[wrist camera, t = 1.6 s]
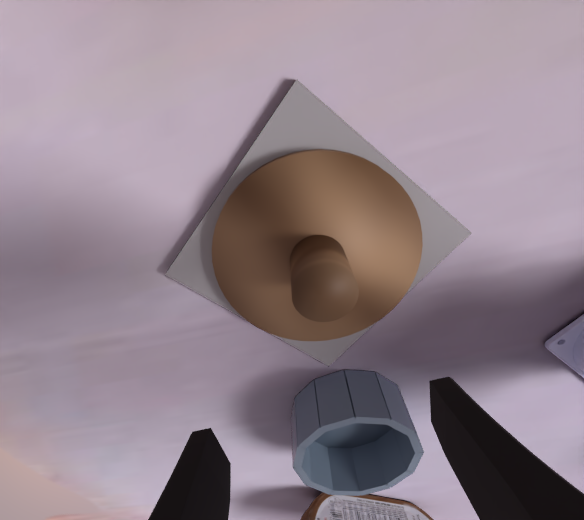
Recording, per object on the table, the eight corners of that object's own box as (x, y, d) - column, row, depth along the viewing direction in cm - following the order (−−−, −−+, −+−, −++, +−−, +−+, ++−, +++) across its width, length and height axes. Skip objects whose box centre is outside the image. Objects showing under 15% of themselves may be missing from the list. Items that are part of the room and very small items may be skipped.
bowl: (342, 352, 24) (353, 398, 20) (425, 401, 27) (448, 449, 23) (270, 420, 27) (269, 470, 23) (351, 457, 30) (361, 507, 26)
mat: (295, 79, 16) (296, 79, 15) (467, 229, 20) (471, 233, 19) (167, 270, 20) (164, 274, 20) (327, 361, 24) (328, 366, 24)
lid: (297, 96, 16) (303, 97, 12) (459, 234, 19) (506, 271, 15) (176, 273, 20) (151, 318, 16) (328, 359, 23) (338, 413, 19)
